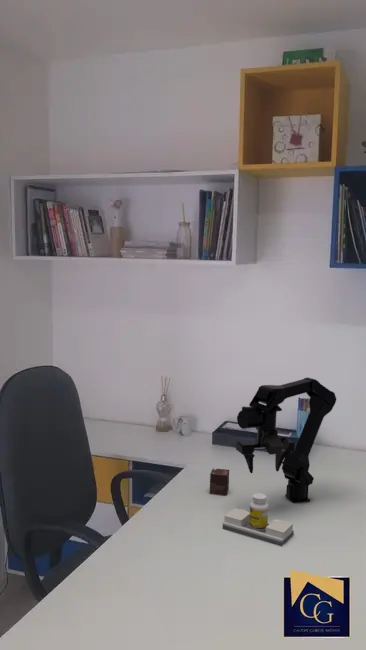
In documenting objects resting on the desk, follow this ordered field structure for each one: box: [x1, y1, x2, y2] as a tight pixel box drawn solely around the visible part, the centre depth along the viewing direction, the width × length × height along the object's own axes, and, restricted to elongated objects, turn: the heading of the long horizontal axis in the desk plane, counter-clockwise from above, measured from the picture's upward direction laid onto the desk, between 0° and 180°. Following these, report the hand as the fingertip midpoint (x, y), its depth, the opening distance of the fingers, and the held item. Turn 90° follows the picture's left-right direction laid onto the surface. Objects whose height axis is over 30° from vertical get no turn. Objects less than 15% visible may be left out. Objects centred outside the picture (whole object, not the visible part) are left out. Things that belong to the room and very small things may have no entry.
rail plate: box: [222, 507, 295, 547], centre depth 181 cm, size 19×9×4 cm, turn 58°
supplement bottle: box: [249, 493, 269, 531], centre depth 181 cm, size 5×5×10 cm
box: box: [209, 467, 230, 496], centre depth 211 cm, size 6×6×7 cm
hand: (264, 472), depth 198 cm, fingers open, 9 cm apart
